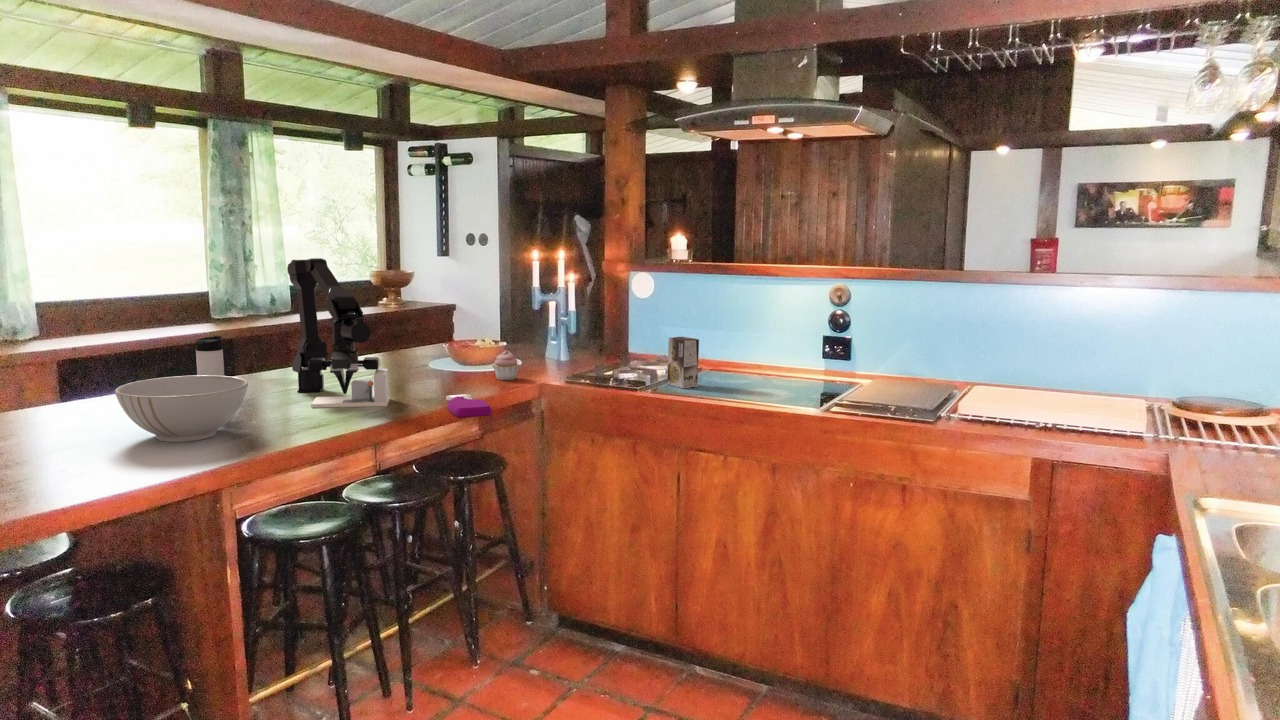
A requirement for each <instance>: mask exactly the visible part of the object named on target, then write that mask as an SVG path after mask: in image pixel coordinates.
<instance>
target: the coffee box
mask: <svg viewBox="0 0 1280 720" xmlns="http://www.w3.org/2000/svg"><path fill="white" fill-rule="evenodd" d="M667 342H668V345H667V346H668V349H667V354H668V355H667V360H668V361H667V385H668V384H669V386H671V387H672V386H673V387H676V388H680V389H683V388H684V389H692V388H691V387H695V388H698V383H699V382H698V381H699V380H698V378H699V377H698V375H699V352H700V351H699V350H700V349H699V348H700V339H699V338H694V337H693V338H692V337H689V336H688V337H687V336H675V337H668V341H667Z"/></svg>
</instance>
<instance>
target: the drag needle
mask: <svg viewBox="0 0 1280 720" xmlns="http://www.w3.org/2000/svg"><path fill="white" fill-rule="evenodd" d="M368 386H369V400H372V396H373V387H374V380H372V381H369V382H368Z"/></svg>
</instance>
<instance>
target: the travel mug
mask: <svg viewBox="0 0 1280 720" xmlns="http://www.w3.org/2000/svg"><path fill="white" fill-rule="evenodd" d="M223 350H224V349H223V338H222V335H214V336H209V337H202V338H198V339H196V340H195V357H196V358H195V359H196V373H197V374H196V376H197V375H214V376H225V363H224V351H223Z"/></svg>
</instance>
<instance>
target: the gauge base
mask: <svg viewBox="0 0 1280 720" xmlns="http://www.w3.org/2000/svg"><path fill="white" fill-rule="evenodd" d="M388 373H389V369H388V368H378V369H376V370H375V372H374V374H373V383H374V384H373V390H374V391H373V393H374V394H373V395H372V400H369V399H360V400H352V395H349V396H346V395H345V396H344V395H343V396H342V395H341V396H340V395H338V396H316V397H315V398H314V400H313V401H312V402H311V403H310V408H311V409H315V408H316V409H317V408H352V407H354V408H357V407H362V408H363V407H387V406H388V405H389V401H390V395H389V375H388Z"/></svg>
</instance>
